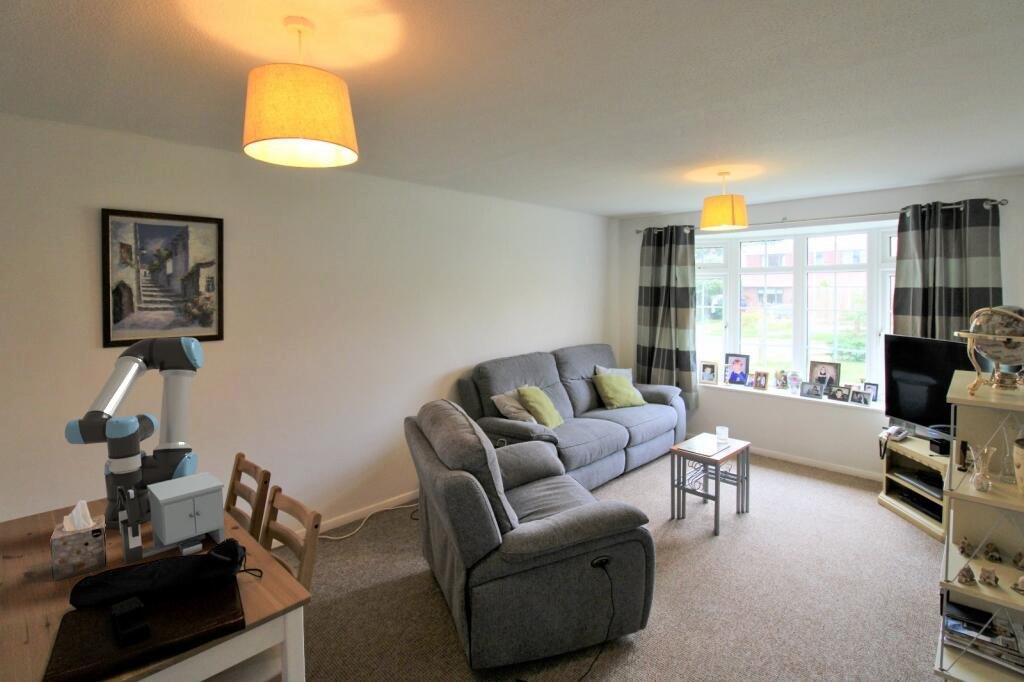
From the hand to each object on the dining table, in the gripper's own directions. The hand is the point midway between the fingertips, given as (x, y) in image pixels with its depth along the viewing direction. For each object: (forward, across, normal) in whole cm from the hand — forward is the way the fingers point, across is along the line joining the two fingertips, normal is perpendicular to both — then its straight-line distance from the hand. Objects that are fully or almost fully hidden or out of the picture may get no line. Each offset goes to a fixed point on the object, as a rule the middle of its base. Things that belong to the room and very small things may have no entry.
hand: (130, 538), depth 152 cm
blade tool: (+6, 0, +9) cm, 11 cm away
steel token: (+7, +6, +14) cm, 17 cm away
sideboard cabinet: (+6, +3, +14) cm, 16 cm away
